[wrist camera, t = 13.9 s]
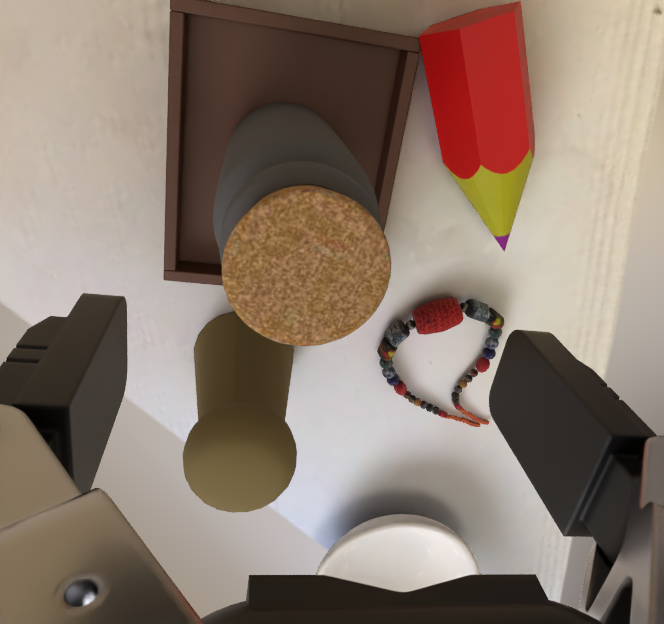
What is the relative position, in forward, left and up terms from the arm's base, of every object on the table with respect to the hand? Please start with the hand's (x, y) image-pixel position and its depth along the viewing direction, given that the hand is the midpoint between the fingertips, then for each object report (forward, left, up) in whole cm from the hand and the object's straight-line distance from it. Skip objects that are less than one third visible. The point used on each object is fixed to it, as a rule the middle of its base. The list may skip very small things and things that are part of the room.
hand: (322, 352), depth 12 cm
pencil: (-2, +10, -20) cm, 23 cm away
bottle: (0, 0, -19) cm, 19 cm away
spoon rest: (+33, +15, -20) cm, 41 cm away
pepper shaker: (+12, -1, -20) cm, 23 cm away
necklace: (+12, +12, -20) cm, 26 cm away
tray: (0, 0, -20) cm, 20 cm away
